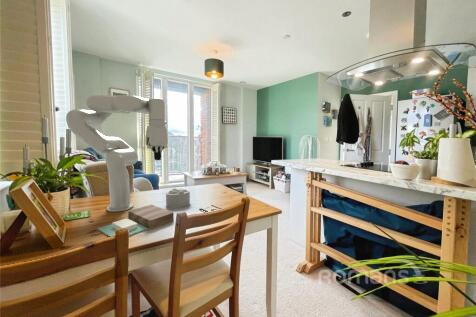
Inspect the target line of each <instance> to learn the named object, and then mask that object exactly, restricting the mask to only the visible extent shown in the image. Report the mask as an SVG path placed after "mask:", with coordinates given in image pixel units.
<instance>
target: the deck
mask: <svg viewBox="0 0 476 317" xmlns="http://www.w3.org/2000/svg"><path fill="white" fill-rule="evenodd" d="M127 214H128V215H127V216H128V218H127V219H130V220H132V221H134V222H136V223H139V224H141V225H143V226H145V227H147V228H148V229H147V230H153V229H155V228H158V227H161V226H163V225H165V224H169V223H171V222H174V215H175V214H174V212H173V211H170V210H167V209H166V208H162V207H159V206H157V205H154V204H148V205H145V206H141V207H138V208H134V209H133V208H132V209H129V210H127Z"/></svg>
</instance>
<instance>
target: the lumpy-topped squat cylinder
mask: <svg viewBox="0 0 476 317" xmlns="http://www.w3.org/2000/svg"><path fill="white" fill-rule="evenodd" d="M190 195H191V193H190V190H187V189H186V188H183V187H180V188H175V187H174V188H172V189H170V190H169V191H168V192H166V193H165V205H166V207H167V208H181V207H185V206H188V205H190V204H191V196H190ZM184 205H185V206H184ZM180 206H181V207H180Z"/></svg>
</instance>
